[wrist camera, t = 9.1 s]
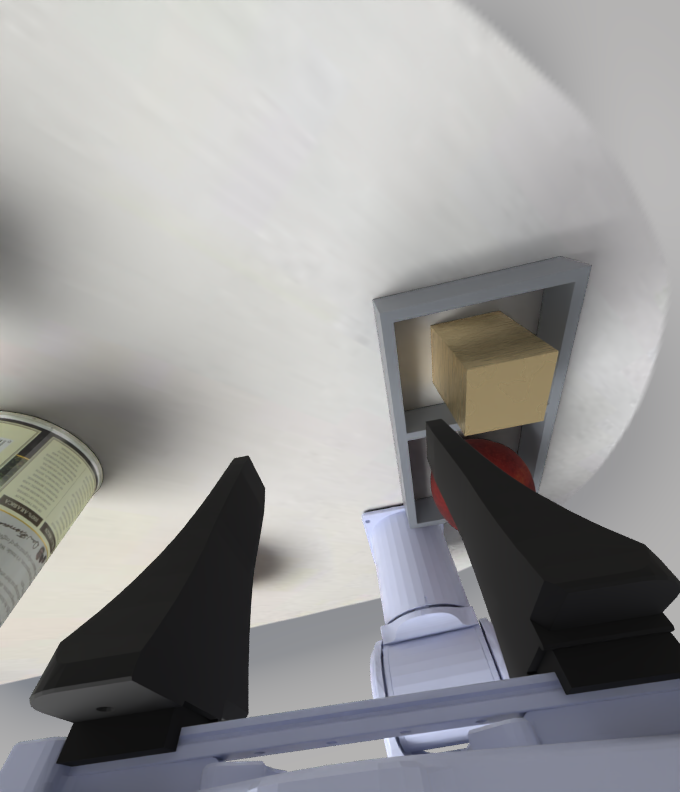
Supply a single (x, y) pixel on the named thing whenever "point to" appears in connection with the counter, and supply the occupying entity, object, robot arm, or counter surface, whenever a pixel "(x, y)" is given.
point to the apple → (497, 456)
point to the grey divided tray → (556, 317)
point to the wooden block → (491, 372)
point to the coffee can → (38, 497)
